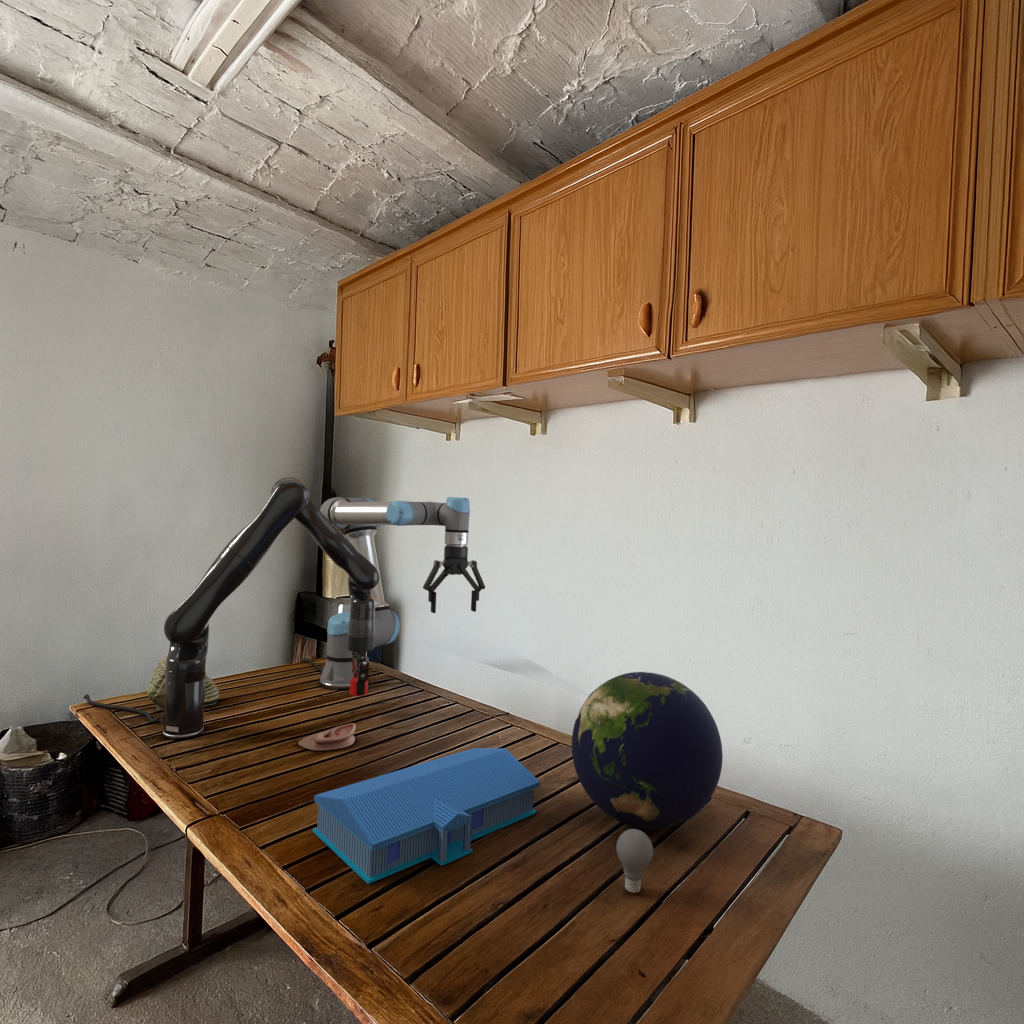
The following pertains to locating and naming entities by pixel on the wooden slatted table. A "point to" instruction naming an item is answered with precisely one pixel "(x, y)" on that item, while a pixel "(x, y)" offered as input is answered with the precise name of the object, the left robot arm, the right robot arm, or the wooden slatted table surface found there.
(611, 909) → the wooden slatted table surface
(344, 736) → the anatomical model
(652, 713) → the globe
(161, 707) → the fossil
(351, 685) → the tin
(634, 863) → the light bulb
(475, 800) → the model building
